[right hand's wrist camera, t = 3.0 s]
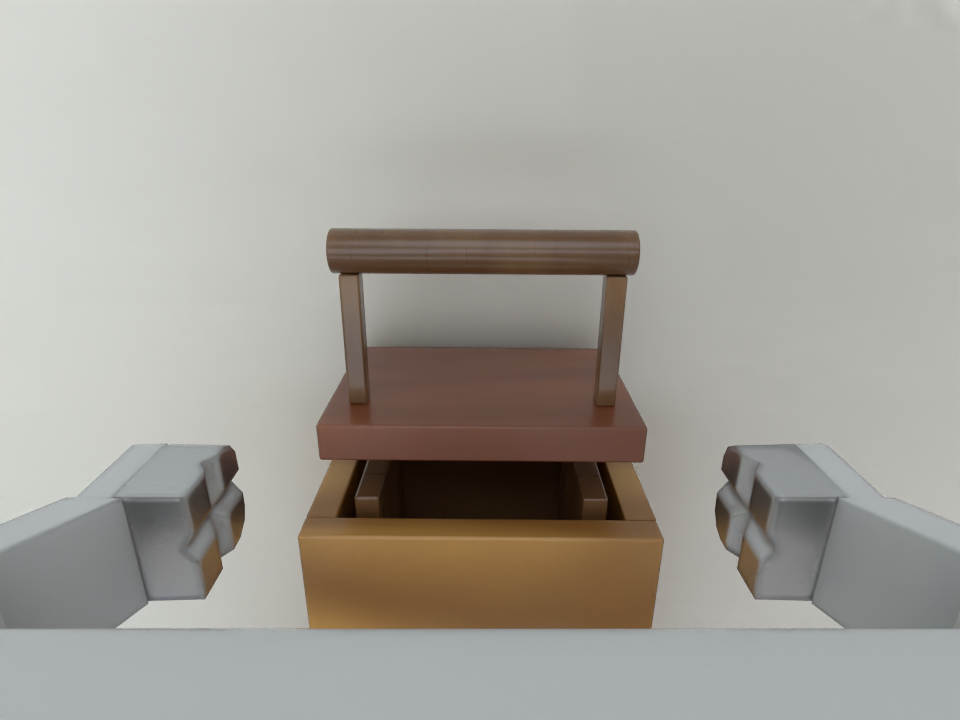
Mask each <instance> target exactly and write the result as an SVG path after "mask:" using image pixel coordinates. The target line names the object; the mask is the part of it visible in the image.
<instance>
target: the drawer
mask: <svg viewBox="0 0 960 720" xmlns="http://www.w3.org/2000/svg"><path fill="white" fill-rule="evenodd" d="M326 254H327V262H328V266H329V269H330V271H331V272H332V273H341V274H340V275H339V288H340V300H341V312H342V324H343V337H344V349H345V361H346V373H345V375H344V377H343V378H342V380H341V382H340V384H339V386H338V387H337V389H336V391H335V393H334V395H333V396H332V398H331V400H330V402H329V404H328V406H327V407H326V409H325V411H324V413H323V415H322V416H321V418H320V420H319V422H318V424H317V426H316V428H317V437H318V447H319V456H320V459H322V460H368V461H367V463H366V466H365V469H364V472H363V475H362V478H361V481H360V484H359V487H358V490H357V492H356V495H355V508H356V518H415V519H522V520H606V515H607V505H608V498H607V495H606V492H605V489H604V486H603V483H602V480H601V477H600V474H599V471H598V468H597V465H596V462H643V460H644V452H645V443H646V435H647V427H646V425H645V423H644V421H643V420H642V418H641V416H640V414H639V412H638V410H637V408H636V406H635V404H634V403H633V401H632V399H631V397H630V395H629V393H628V391H627V389H626V387H625V385H624V384H623V382H622V380H621V378H620V376H619V374H618V371H619V360H620V350H621V340H622V330H623V319H624V309H625V299H626V288H627V277H626V276H625V275H634V274H635V273H636V271H637V268H638V264H639V258H640V240H639V235H638V233H637V231H635V230H497V229H355V228H332V229H330V230H329V232H328V235H327V242H326ZM362 273H385V274H520V275H604V276H603V289H602V301H601V313H600V325H599V337H598V349H542V348H417V347H367V339H366V324H365V309H364V294H363V279H362Z"/></svg>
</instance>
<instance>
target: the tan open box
mask: <svg viewBox="0 0 960 720" xmlns="http://www.w3.org/2000/svg"><path fill="white" fill-rule="evenodd" d="M367 461H368V460H332V462H331V464H330V466H329V468H328V470H327V473H326V475H325V477H324V479H323V482H322V484H321V486H320V488H319V491H318V493H317V495H316V497H315V499H314V502H313V504H312V506H311V508H310V511H309V513H308V515H307V518H306V520H305V522H304V524H303V526H302V529H301V531H300V533H299V535H298V541H299V549H300V556H301V564H302V572H303V580H304V588H305V596H306V604H307V611H308V619H309V627H310V629H651V627H652V620H653V613H654V606H655V599H656V592H657V585H658V578H659V571H660V564H661V557H662V550H663V543H664V539H663V537H662V534H661V532H660V530H659V527H658V525H657V523H656V519H655V516H654V514H653V512H652V509H651V507H650V505H649V502H648V500H647V498H646V496H645V493H644V491H643V489H642V486H641V484H640V482H639V479H638V477H637V475H636V472H635V470H634V468H633V465H632V463H631V462H596V465H597V468H598V471H599V474H600V477H601V480H602V483H603V486H604V489H605V492H606V495H607V498H608V505H607V515H606V520H522V519H415V518H356V508H355V495H356V492H357V490H358V487H359V484H360V481H361V478H362V475H363V472H364V469H365V466H366V463H367Z"/></svg>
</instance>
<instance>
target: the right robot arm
mask: <svg viewBox="0 0 960 720" xmlns="http://www.w3.org/2000/svg"><path fill="white" fill-rule="evenodd" d="M238 470H239V468H238V464H237V459H236V454H235V451H234V450H233V449H232V448H231V447H230V446H229V445H182V444H170V445H168V444H139V445H132V446H131V447H130V448H129V449H128V450H127V451H126V452H125V453H124V454H123V455H122V456H120V457H119V458H118V459H117V460H116V461H115V462H114V463H113V464H112V465H111V466H110V467H109V468H107V469H106V470H105V471H104V472H103V473H102V474H101V475H100V476H99V477H98V478H97V479H96V480H94V481H93V482H92V483H91V484H90V485H89V486H88V487H87V488H86V489H85V490H84V491H83V492H81V493H80V494H79V495H78V496H77V497H76V498H64V499H61V500H59V501H57V502H54V503H52V504H49V505H47V506H44V507H42V508H40V509H37V510H35V511H32V512H30V513H27V514H25V515H22V516H20V517H18V518H15V519H13V520H10V521H8V522H5V523H3V524H1V525H0V720H960V525H959V524H957V523H954V522H952V521H950V520H947V519H945V518H942V517H940V516H937V515H935V514H933V513H930V512H928V511H925V510H923V509H920V508H918V507H916V506H913V505H911V504H908V503H906V502H903V501H901V500H899V499H896V498H884V497H883V496H882V495H881V494H880V493H879V492H878V491H876V490H875V489H874V488H873V487H872V486H871V485H870V484H869V483H868V482H867V481H866V480H865V479H863V478H862V477H861V476H860V475H859V474H858V473H857V472H856V471H855V470H854V469H853V468H852V467H851V466H849V465H848V464H847V463H846V462H845V461H844V460H843V459H842V458H841V457H840V456H839V455H838V454H836V453H835V452H834V451H833V450H832V449H831V448H830V447H829V446H827V445H823V444H797V445H795V444H785V445H743V446H730V447H728V448H727V450H726V452H725V454H724V457H723V463H722V468H721V470H722V471H723V473H724V474H725V476H726V477H727V479H728V480H729V481H728V482H727V483H726V484H725V485H724V486H723V487H722V488H721V489H720V490H719V491H718V492H717V499H716V506H715V516H716V527H717V530H718V533H719V536H720V539H721V541H722V543H723V544H724V546H725V548H726V549H727V550H728V551H730V552H731V553H733V554H734V555H736V556H738V557H739V561H738V567H737V569H738V571H739V573H740V574H741V576H742V578H743V579H744V581H745V583H746V585H747V586H748V588H749V590H750V591H751V593H752V595H753V597H754V598H755V599H766V600H803V601H812V604H813V605H815V606H816V607H817V608H819V609H820V610H821V611H823V612H824V613H825V614H827V615H828V616H829V617H831V618H832V619H833V620H835V621H836V622H837V623H839V624H840V625H841V626H843V627H844V628H845V629H115V628H116V627H118V626H119V625H120V624H122V623H123V622H124V621H126V620H127V619H128V618H130V617H131V616H132V615H134V614H135V613H136V612H138V611H139V610H140V609H142V608H143V607H144V606H146V605H147V604H148V601H156V600H192V599H205V598H206V597H207V595H208V593H209V591H210V590H211V588H212V586H213V585H214V583H215V581H216V579H217V578H218V576H219V574H220V573H221V571H222V569H223V567H222V561H221V557H222V556H224V555H226V554H227V553H229V552H230V551H232V550H233V549H234V548H235V546H236V544H237V543H238V541H239V539H240V537H241V533H242V529H243V524H244V520H245V504H244V498H243V492H242V491H241V490H240V489H239V488H238V487H237V486H236V485H235V484H234V483H233V482H232V481H231V480H232V479H233V477H234V476H235V474H236V473H237V471H238Z"/></svg>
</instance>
